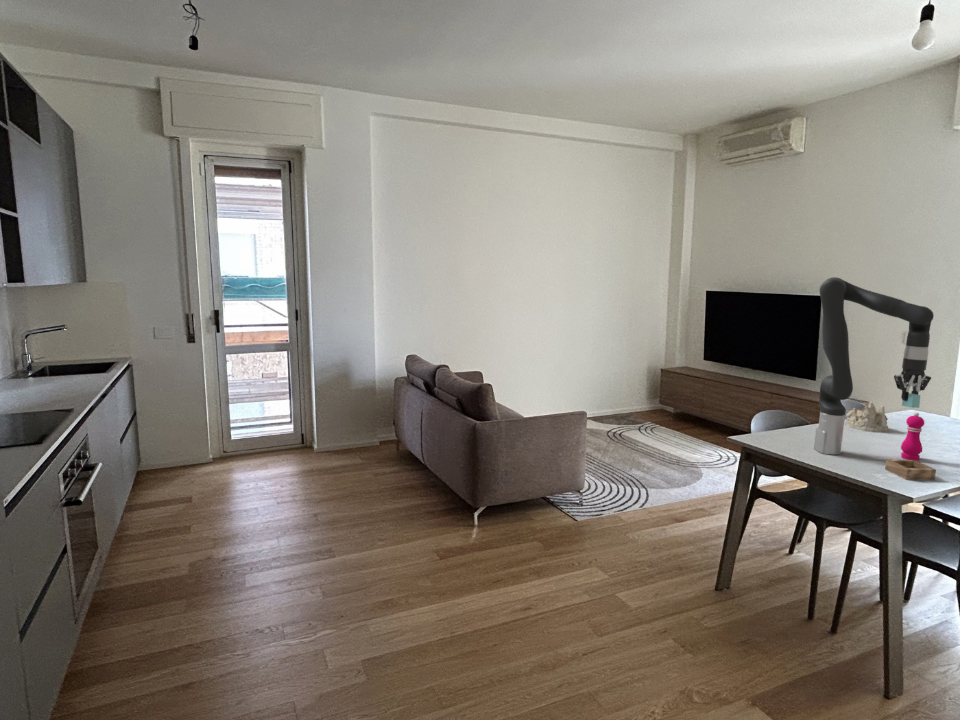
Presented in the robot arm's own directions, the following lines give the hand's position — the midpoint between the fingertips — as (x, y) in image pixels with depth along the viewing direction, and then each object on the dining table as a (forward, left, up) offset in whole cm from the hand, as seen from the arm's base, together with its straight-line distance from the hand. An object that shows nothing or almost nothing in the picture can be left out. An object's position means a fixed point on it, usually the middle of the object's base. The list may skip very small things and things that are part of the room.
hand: (909, 400), depth 225 cm
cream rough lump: (+26, +56, -28) cm, 68 cm away
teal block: (0, -1, -2) cm, 3 cm away
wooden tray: (-3, -9, -28) cm, 29 cm away
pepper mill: (+12, +10, -28) cm, 32 cm away
